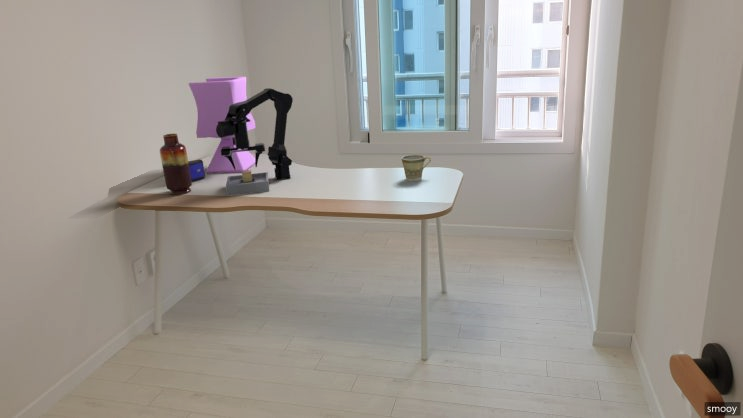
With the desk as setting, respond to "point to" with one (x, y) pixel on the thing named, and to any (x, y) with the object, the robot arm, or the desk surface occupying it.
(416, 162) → the ceramic cup
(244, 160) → the lavender hourglass shape
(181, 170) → the vase
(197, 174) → the blue screen device
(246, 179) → the connector plug
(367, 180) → the desk surface
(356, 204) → the desk surface
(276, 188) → the desk surface
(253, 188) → the grey socket tray
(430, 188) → the desk surface
